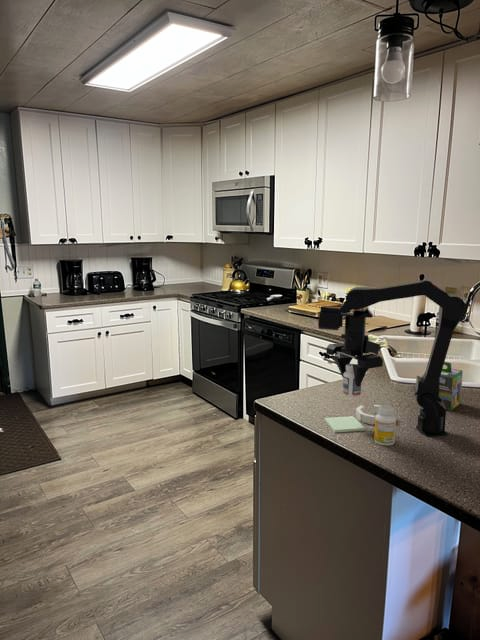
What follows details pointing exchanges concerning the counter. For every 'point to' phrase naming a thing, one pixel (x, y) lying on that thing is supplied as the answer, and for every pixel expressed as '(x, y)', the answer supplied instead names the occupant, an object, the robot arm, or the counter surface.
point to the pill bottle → (350, 383)
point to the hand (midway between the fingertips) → (351, 383)
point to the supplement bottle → (385, 426)
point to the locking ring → (366, 415)
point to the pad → (344, 424)
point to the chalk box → (450, 386)
